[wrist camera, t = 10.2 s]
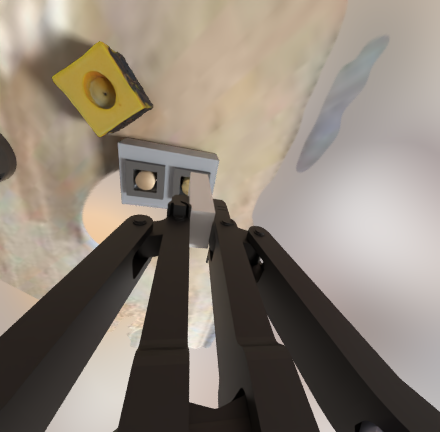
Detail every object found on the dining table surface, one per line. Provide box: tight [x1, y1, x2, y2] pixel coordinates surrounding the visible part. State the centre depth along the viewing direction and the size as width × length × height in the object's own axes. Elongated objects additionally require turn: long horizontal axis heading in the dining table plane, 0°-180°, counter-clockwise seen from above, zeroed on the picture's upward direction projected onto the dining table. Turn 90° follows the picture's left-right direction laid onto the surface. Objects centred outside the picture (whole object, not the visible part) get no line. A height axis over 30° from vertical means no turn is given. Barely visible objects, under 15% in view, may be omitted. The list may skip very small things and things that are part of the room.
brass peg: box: [182, 176, 190, 195], centre depth 47 cm, size 4×4×7 cm
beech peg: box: [135, 170, 157, 190], centre depth 45 cm, size 4×4×7 cm
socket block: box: [118, 138, 219, 209], centre depth 46 cm, size 21×14×7 cm, turn 78°
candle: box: [52, 41, 153, 137], centre depth 35 cm, size 10×10×10 cm
